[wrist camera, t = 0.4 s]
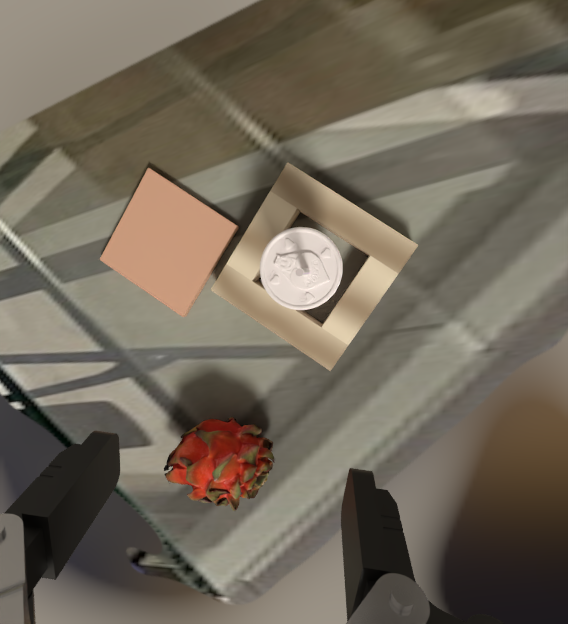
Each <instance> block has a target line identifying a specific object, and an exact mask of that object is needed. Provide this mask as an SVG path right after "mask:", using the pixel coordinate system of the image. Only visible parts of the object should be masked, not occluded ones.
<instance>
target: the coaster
mask: <svg viewBox="0 0 568 624" xmlns="http://www.w3.org/2000/svg"><path fill="white" fill-rule="evenodd" d="M238 228H239V226H237V225H236V224H234V223H233V222H231V221H230V220H228V219H227V218H225V217H224V216H222V215H221V214H219V213H218V212H216V211H215V210H213V209H212V208H210V207H208V206H207V205H205V204H204V203H202V202H201V201H199V200H198V199H196V198H195V197H193V196H192V195H190V194H189V193H187V192H186V191H184V190H183V189H181V188H180V187H178V186H177V185H175V184H174V183H172V182H171V181H169V180H167V179H166V178H164V177H163V176H161V175H160V174H158V173H157V172H155V171H154V170H152V169H150V168H148V169H147V171H146V173H145V175H144V177H143V179H142V181H141V182H140V184H139V186H138V188H137V190H136V192H135V194H134V196H133V198H132V199H131V201H130V203H129V205H128V207H127V209H126V211H125V213H124V214H123V216H122V218H121V220H120V222H119V224H118V226H117V228H116V230H115V231H114V233H113V235H112V237H111V239H110V241H109V243H108V245H107V246H106V248H105V250H104V252H103V254H102V256H101V258H100V260H101V261H102V262H104V263H105V264H107V265H108V266H110V267H111V268H113V269H114V270H116V271H117V272H118V273H120V274H121V275H123V276H124V277H126V278H127V279H129V280H130V281H131V282H133V283H134V284H136V285H137V286H139V287H140V288H142V289H143V290H145V291H146V292H147V293H149V294H150V295H152V296H153V297H155V298H156V299H158V300H159V301H161V302H162V303H163V304H165V305H166V306H168V307H169V308H171V309H172V310H174V311H175V312H177V313H178V314H179V315H181V316H182V317H185V316H186V315H187V314H188V312H189V310H190V309H191V307H192V305H193V304H194V302H195V300H196V299H197V297H198V295H199V294H200V292H201V290H202V289H203V287H204V285H205V284H206V282H207V280H208V279H209V277H210V275H211V274H212V272H213V270H214V268H215V267H216V265H217V263H218V262H219V260H220V258H221V257H222V255H223V253H224V252H225V250H226V248H227V247H228V245H229V243H230V242H231V240H232V238H233V237H234V235H235V233H236V232H237V230H238Z"/></svg>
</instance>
